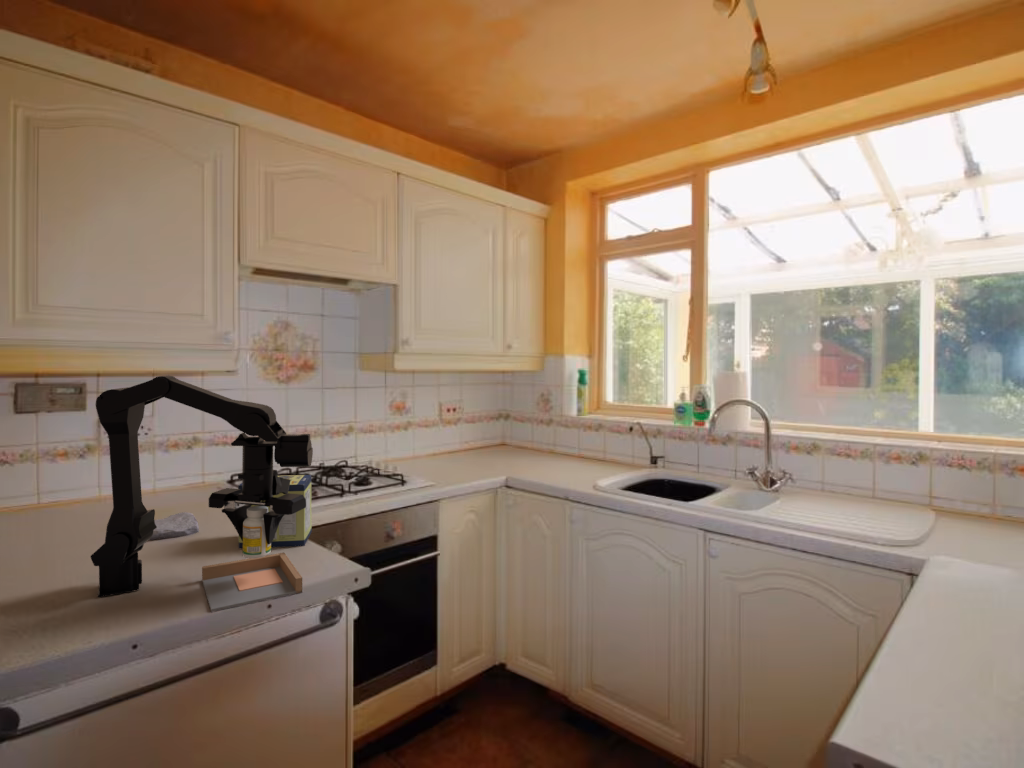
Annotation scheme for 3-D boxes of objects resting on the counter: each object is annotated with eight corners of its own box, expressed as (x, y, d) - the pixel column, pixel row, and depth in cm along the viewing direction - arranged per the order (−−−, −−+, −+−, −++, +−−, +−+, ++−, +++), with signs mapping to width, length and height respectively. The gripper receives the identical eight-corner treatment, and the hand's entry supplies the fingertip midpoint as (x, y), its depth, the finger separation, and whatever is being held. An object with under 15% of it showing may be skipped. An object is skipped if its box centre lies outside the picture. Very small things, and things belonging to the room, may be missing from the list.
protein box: (249, 534, 143) (248, 475, 142) (312, 532, 146) (312, 474, 145) (236, 549, 132) (236, 485, 131) (305, 546, 135) (305, 483, 134)
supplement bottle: (250, 561, 110) (250, 513, 109) (237, 554, 113) (237, 508, 113) (276, 554, 114) (276, 508, 113) (263, 547, 117) (263, 503, 117)
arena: (211, 611, 101) (211, 595, 101) (202, 580, 114) (202, 566, 114) (302, 592, 110) (302, 577, 110) (284, 565, 123) (284, 552, 123)
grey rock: (202, 539, 143) (191, 523, 150) (202, 522, 142) (191, 507, 149) (149, 552, 135) (139, 534, 142) (148, 534, 134) (139, 517, 141)
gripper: (320, 462, 119) (319, 534, 120) (243, 456, 122) (242, 526, 123) (290, 473, 108) (289, 551, 109) (206, 466, 111) (206, 542, 112)
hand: (257, 542), depth 113 cm, fingers closed on supplement bottle, 5 cm apart
